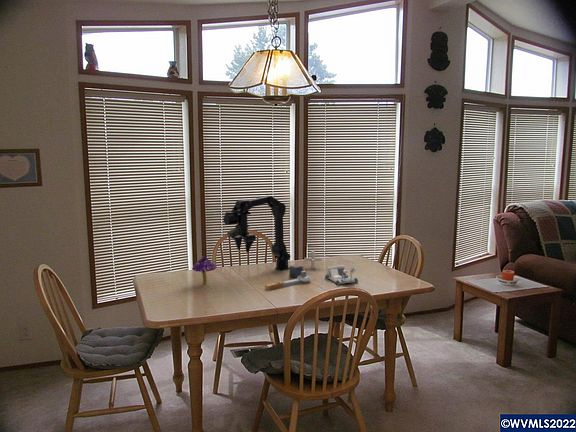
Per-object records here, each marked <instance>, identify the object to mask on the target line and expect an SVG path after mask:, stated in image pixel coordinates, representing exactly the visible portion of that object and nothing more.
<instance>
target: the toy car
mask: <svg viewBox="0 0 576 432" xmlns="http://www.w3.org/2000/svg"><path fill="white" fill-rule="evenodd" d="M326 268H327V269H326V274H325V276H324V279H326V280H330V281H332V282H335V283H336V284H335V285H336V286H338V287H339V286H340V285H341V284H342V285H343V284H348V283H349V284H350V283H354V284H358V283H359V280H358V277H354V278H352V277H351V276H348V274H347V273H348V271H349V273H350V275H352V274H355V273H357V269H356V267H355V266H350V267H349V269H348V271H347V270H345V265H344V264H343V265H335V266H328V267H326Z"/></svg>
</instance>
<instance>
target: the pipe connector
mask: <svg viewBox="0 0 576 432" xmlns="http://www.w3.org/2000/svg"><path fill="white" fill-rule="evenodd" d="M310 253H311V255H310V257H304V259H303V261H305V262H309V261H310V264H311V265H310V268H311V269H314V268H315V262H322V257H315V250H311V252H310Z"/></svg>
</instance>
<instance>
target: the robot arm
mask: <svg viewBox="0 0 576 432" xmlns="http://www.w3.org/2000/svg"><path fill="white" fill-rule="evenodd" d="M263 205H267V206H268V207H269V208H270V210H271V214H272V215H273V218H274V237H275V238H274V239H275V240H274V244H272V245H271V252H272V255H273V256H274V259H276V262H275V268H274V269H276V270H279V271H286V270H289V260H291V257H292V255H290V254H289V252H288V250H287V246H286V244H285V239H284V238H285V237H284V217H285V214H286V209H287V207H286V204H285V203H284V202H282V201H279V200H278V199H277V198H275V197H274V196H272V195H266V196H261V197H256V198H252V199H238V200H236V201H235V203H234V206H233V208H232V210H231V211H230V212H229V211H225V214H224V216H223V222H224V224H225V225H226V226H228V225H229V226H230V225H235V227H234V228H232V229H231V230H228V231H227V234H228V238H230V239H232V240H233V241H234V243H235V246H236V249H237V250H238V251H239V250H241V247H242V242H243V243H244V244H245V247H244V248H245V252H246V254H248V253H249V251H250V250H251V248H252V245H253V244H254V242H255V241H256V240H257V236H256V235H255V234H252V233H250V232H249V229H248V228H249V227H250V224H248V221H249V220H248V217H249V216H250V215H251V212H250V210H251V209H252V208H254V207H259V206H263ZM248 215H249V216H248Z"/></svg>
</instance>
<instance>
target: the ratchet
mask: <svg viewBox="0 0 576 432" xmlns="http://www.w3.org/2000/svg"><path fill="white" fill-rule="evenodd" d="M308 283H311V276H310V275H307V271H306V270H303V271H301V275H300V276H297V278H296V279H295V278H293V279H291V280H289V279H288V280H284V281H276V282H272V283H268V284H267V283H266V284H265V285H264V289H265V290H266V291H272V290H278V289H280V288H285V287H289V286H294V285H298V284H308Z"/></svg>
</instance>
